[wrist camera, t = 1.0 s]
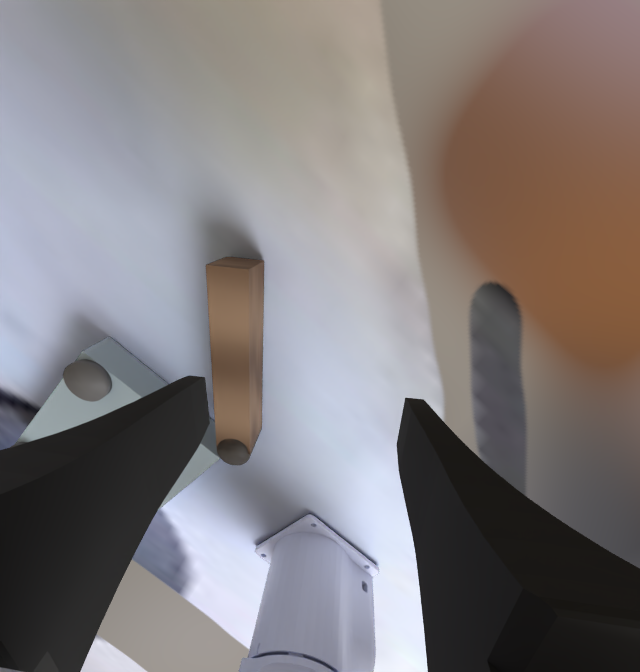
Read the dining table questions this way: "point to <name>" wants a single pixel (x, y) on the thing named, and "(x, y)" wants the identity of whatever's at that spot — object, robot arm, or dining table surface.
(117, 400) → the grey flat block
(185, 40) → the dining table surface
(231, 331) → the folding leg
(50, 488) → the robot arm
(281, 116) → the dining table surface
